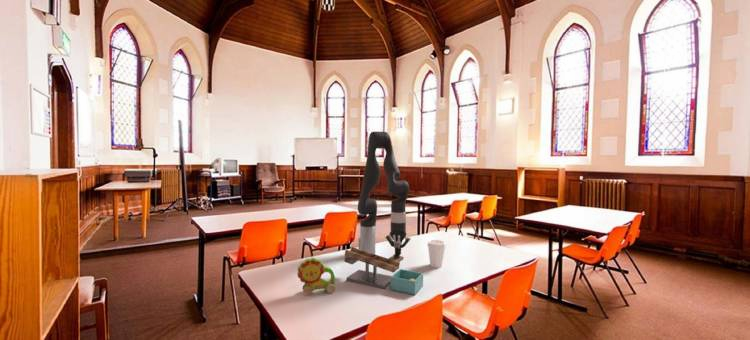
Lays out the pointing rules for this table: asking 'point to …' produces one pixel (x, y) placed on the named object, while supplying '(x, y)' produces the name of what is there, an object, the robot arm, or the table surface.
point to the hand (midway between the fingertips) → (398, 255)
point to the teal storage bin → (407, 282)
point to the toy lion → (315, 276)
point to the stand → (370, 278)
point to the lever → (373, 259)
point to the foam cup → (436, 252)
